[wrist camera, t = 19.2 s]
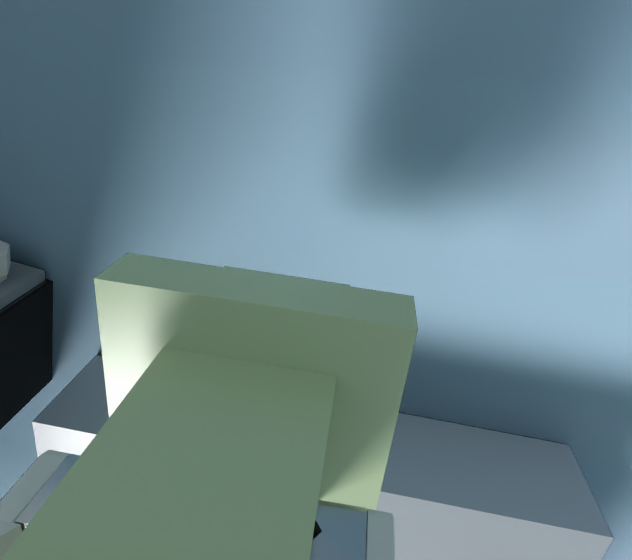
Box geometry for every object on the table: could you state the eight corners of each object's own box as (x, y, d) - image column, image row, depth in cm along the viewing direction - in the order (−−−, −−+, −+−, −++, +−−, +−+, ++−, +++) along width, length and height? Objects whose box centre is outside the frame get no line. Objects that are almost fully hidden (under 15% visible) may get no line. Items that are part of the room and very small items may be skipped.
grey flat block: (112, 555, 31) (67, 638, 27) (96, 355, 25) (32, 421, 20) (477, 633, 30) (494, 734, 26) (568, 445, 23) (613, 537, 19)
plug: (182, 395, 18) (-62, 804, 8) (177, 214, 15) (-223, 520, 5) (371, 428, 17) (353, 905, 7) (407, 247, 14) (458, 659, 4)
